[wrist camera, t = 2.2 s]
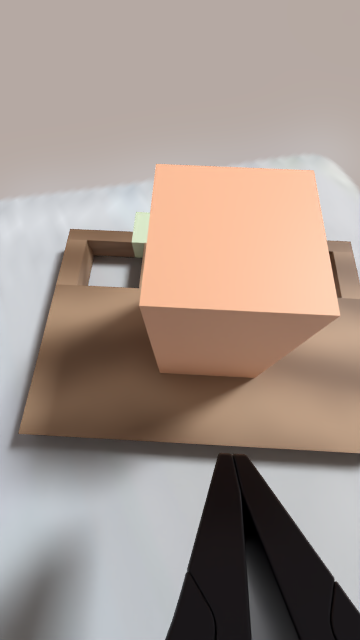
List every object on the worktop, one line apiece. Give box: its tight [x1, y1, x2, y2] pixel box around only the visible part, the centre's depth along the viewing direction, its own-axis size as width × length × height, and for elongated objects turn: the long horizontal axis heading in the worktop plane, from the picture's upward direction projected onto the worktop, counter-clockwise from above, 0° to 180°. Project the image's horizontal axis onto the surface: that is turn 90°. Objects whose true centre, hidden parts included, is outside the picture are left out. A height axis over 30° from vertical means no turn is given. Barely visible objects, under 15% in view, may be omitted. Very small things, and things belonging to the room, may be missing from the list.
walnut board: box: [18, 229, 360, 453], centre depth 20 cm, size 15×22×2 cm
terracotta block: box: [139, 164, 340, 378], centre depth 14 cm, size 6×6×10 cm
